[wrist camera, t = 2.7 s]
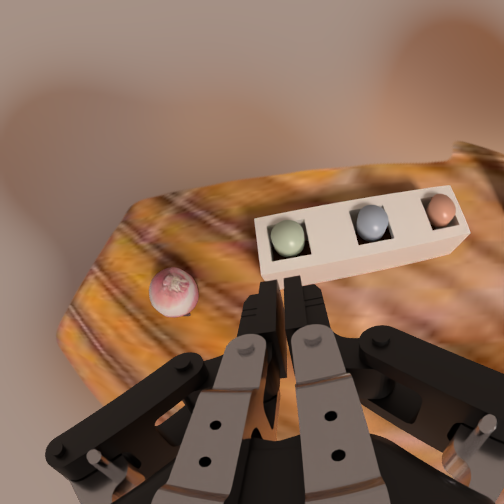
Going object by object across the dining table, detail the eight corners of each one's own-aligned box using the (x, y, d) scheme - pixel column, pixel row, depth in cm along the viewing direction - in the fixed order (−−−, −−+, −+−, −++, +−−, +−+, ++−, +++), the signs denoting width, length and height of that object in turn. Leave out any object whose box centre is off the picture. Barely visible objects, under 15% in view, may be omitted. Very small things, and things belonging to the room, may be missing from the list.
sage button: (301, 226, 36) (300, 217, 34) (307, 254, 34) (306, 246, 32) (272, 232, 36) (268, 223, 34) (276, 259, 35) (273, 252, 33)
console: (433, 211, 39) (449, 185, 32) (449, 254, 36) (470, 232, 29) (265, 242, 44) (254, 218, 37) (271, 291, 41) (261, 275, 34)
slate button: (379, 212, 34) (382, 202, 32) (388, 238, 32) (392, 230, 30) (352, 217, 35) (354, 207, 32) (360, 244, 33) (362, 235, 31)
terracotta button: (443, 201, 32) (448, 192, 30) (453, 225, 31) (459, 217, 28) (422, 204, 33) (427, 195, 31) (431, 229, 31) (437, 221, 29)
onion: (212, 289, 44) (202, 290, 37) (184, 325, 44) (170, 333, 36) (175, 259, 45) (160, 255, 38) (149, 295, 44) (130, 296, 37)
